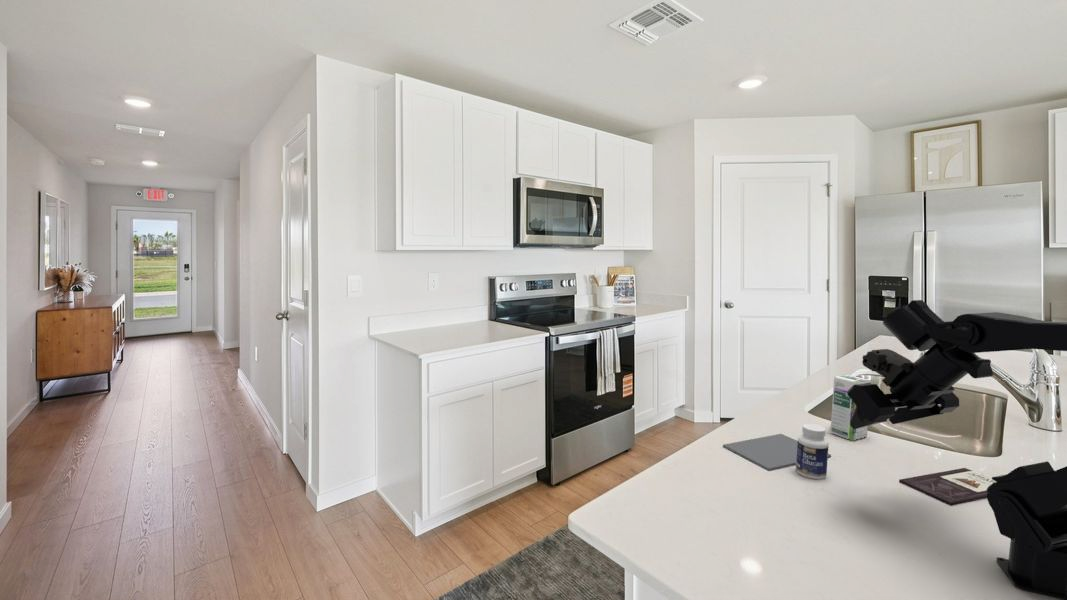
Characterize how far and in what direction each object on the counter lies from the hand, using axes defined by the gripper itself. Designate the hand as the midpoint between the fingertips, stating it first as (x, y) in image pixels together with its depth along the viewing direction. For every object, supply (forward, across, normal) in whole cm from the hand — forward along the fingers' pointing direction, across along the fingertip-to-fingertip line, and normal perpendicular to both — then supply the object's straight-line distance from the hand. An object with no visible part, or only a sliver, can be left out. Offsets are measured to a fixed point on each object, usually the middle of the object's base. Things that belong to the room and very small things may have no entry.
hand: (872, 424), depth 87 cm
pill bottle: (+16, +4, +1) cm, 17 cm away
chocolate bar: (+9, -19, +11) cm, 24 cm away
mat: (+23, +3, -7) cm, 24 cm away
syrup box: (+25, -22, -10) cm, 34 cm away
